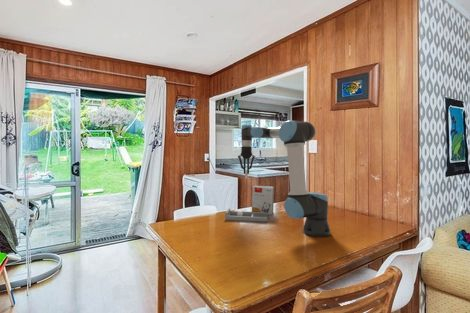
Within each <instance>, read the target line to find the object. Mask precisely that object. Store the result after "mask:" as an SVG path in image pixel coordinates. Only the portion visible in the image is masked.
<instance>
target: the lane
mask: <svg viewBox="0 0 470 313" xmlns="http://www.w3.org/2000/svg"><path fill="white" fill-rule="evenodd" d="M238 211H239V210H238ZM238 211H237V210H231V208H230V207H229V208H228V209H226V211H225V216H224V217H225V218H224V220H225V221H231V222H232V221H233V222H248V223H249V222H250V223H251V222H252V223H268V217H269V216H268V213H267V212H252V211H241V210H240V211H241V212H242V213H243V215H242V216H237V212H238Z"/></svg>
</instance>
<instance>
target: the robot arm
mask: <svg viewBox="0 0 470 313" xmlns="http://www.w3.org/2000/svg"><path fill="white" fill-rule="evenodd" d="M240 131H241V133H240V134H241V138H240V139H241V141H240V142H241V148H240V149H241V152H240V154H239V155H237V158H238V160H239V165H240V168H241V169H242V170H243V174H244V179H246V180H247V179H248V174H250V169H252V167H253V164H254V160H255V158H256V155H254V154H253V150H252V144H253V143H252V142H253V140H252V138H253V139H280V141H282V142H283V147H285V148H286V151H287V154H286V155H287V162H288V167H287V168H288V178H289V179H288V180H289V192H288V193H287V198H286V199H285V200H284V203H283V208H284V211H285V213H286V214H287V215H288V216H289V218H291V219H293V220H298V219H299V220H300V219H301V220H302V219H305V218H306V219H305V221H304V225H303V228H302V232H303V233H304V234H306V235H307V236H311V237H317V238H323V237H328V236H329V237H330V236H331V227H330V224H329V221H328V215H329V214H328V213H329V212H328V210H329V207H328V204H329V201H328V195H326V194H325V193H319V192H312V191H308V190H307V185H306V184H307V183H306V175H305V174H306V172H305V171H306V169H305V159H304V147H305V145H306V142H309V141H311V140H312V139H314V137H315V136H316V128H315V126H314V125H313V124H312V123H311V122H309V121H300V120H286V121H284V122H283V123H282V124H281V125H280V126H278V127H263V126H262V127H261V126H252V124H243V125H241V130H240ZM250 158H251V161H250ZM242 160H243V161H242ZM246 161H247V162H246Z"/></svg>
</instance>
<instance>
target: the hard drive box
mask: <svg viewBox="0 0 470 313" xmlns="http://www.w3.org/2000/svg"><path fill="white" fill-rule="evenodd" d="M274 196H275V187H274V186H268V185H253V186H252V188H251V212H267V213H268V215H270V216H272V215H273V214H274V204H275V203H274V200H275V198H274Z"/></svg>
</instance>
